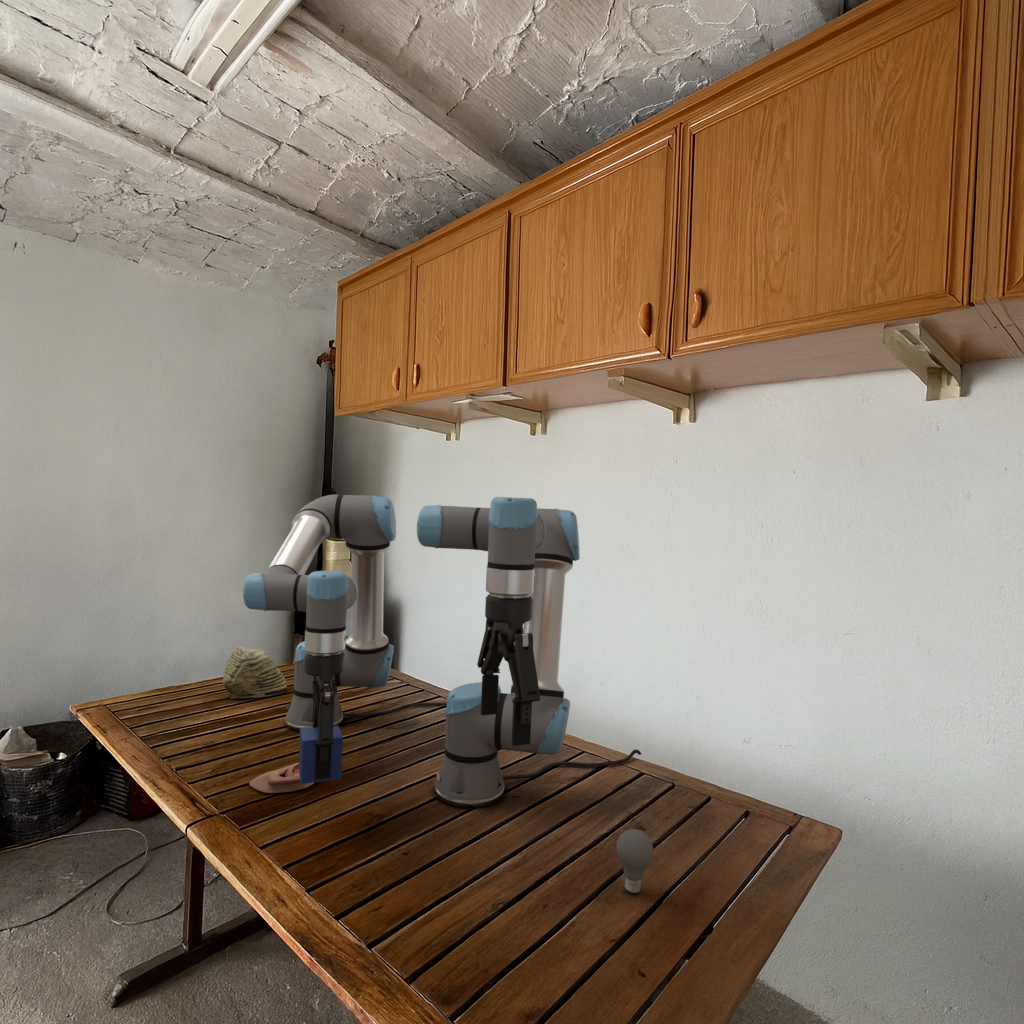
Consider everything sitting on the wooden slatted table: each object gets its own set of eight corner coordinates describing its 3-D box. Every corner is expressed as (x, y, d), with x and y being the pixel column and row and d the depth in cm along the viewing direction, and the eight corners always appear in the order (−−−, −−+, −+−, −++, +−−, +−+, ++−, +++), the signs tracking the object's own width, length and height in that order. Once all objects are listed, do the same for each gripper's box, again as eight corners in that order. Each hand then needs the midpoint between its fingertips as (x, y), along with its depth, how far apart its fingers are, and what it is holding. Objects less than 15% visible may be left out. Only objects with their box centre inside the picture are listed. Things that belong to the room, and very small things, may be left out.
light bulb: (610, 879, 108) (613, 822, 108) (644, 879, 109) (647, 822, 109) (619, 902, 102) (622, 840, 102) (655, 901, 103) (658, 840, 103)
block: (301, 784, 118) (302, 741, 118) (298, 769, 124) (300, 728, 124) (341, 779, 121) (343, 737, 121) (336, 765, 127) (338, 725, 127)
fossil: (218, 695, 195) (220, 647, 195) (278, 685, 208) (279, 640, 207) (228, 703, 189) (230, 653, 188) (289, 692, 201) (290, 645, 201)
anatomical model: (241, 770, 135) (272, 750, 146) (240, 789, 135) (271, 767, 146) (297, 779, 132) (324, 757, 144) (297, 798, 132) (324, 775, 144)
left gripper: (352, 663, 115) (347, 789, 115) (338, 639, 133) (334, 748, 133) (309, 665, 112) (304, 795, 112) (300, 641, 130) (296, 752, 130)
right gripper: (567, 607, 90) (560, 756, 90) (502, 583, 113) (497, 701, 113) (518, 609, 87) (512, 762, 87) (462, 584, 110) (457, 705, 110)
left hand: (320, 769), depth 123 cm, fingers closed on block, 7 cm apart
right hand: (503, 728), depth 100 cm, fingers open, 13 cm apart
